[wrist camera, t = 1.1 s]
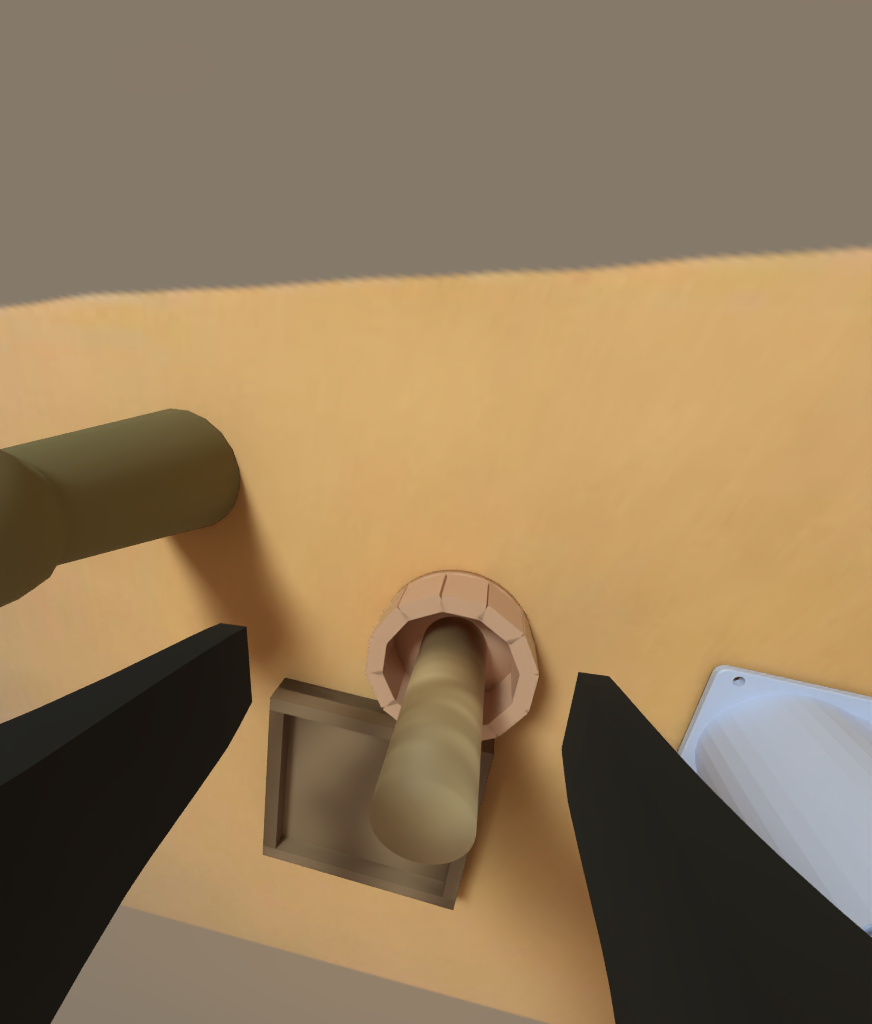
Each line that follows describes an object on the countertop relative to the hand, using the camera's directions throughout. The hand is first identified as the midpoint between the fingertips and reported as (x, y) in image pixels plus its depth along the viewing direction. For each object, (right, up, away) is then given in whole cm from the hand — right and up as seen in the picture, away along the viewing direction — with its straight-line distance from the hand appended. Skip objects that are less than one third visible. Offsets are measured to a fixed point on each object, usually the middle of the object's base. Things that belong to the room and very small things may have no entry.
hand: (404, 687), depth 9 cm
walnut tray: (-3, -12, +16) cm, 20 cm away
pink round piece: (+2, -3, +12) cm, 13 cm away
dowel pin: (+2, -3, +12) cm, 12 cm away
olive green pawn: (-12, +6, +12) cm, 18 cm away
